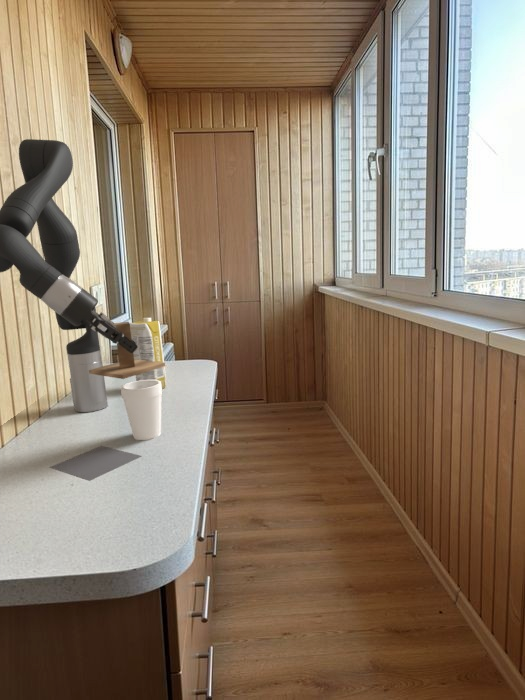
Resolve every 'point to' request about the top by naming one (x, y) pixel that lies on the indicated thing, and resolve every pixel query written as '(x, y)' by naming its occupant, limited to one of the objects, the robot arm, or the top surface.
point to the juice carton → (149, 348)
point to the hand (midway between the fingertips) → (134, 348)
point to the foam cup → (143, 407)
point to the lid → (126, 360)
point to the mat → (95, 462)
